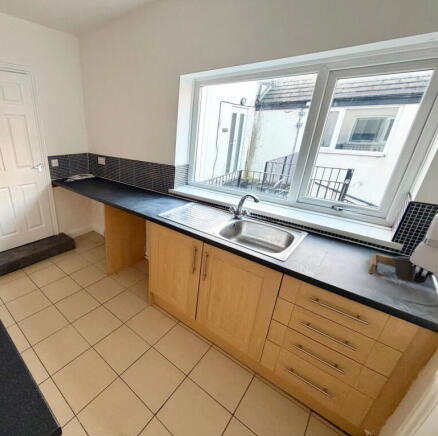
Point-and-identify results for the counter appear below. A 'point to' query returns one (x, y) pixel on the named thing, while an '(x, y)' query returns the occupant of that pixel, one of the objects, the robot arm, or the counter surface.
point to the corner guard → (380, 258)
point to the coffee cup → (404, 268)
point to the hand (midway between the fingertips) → (418, 281)
